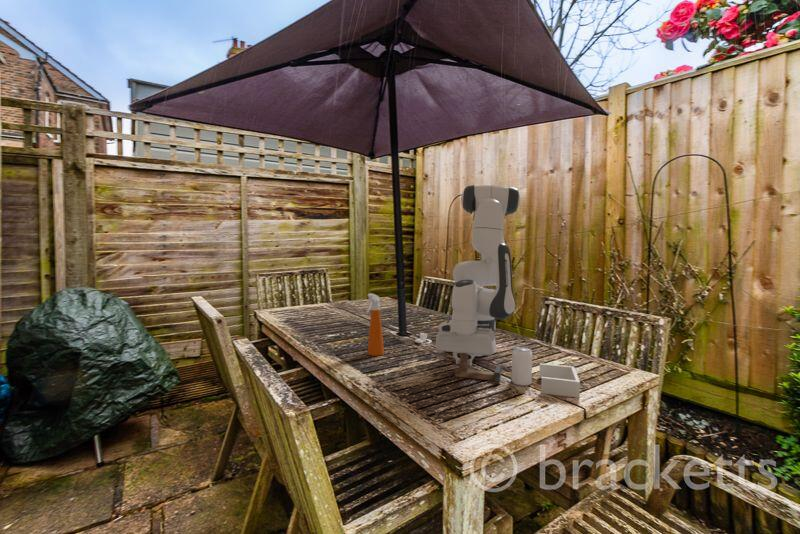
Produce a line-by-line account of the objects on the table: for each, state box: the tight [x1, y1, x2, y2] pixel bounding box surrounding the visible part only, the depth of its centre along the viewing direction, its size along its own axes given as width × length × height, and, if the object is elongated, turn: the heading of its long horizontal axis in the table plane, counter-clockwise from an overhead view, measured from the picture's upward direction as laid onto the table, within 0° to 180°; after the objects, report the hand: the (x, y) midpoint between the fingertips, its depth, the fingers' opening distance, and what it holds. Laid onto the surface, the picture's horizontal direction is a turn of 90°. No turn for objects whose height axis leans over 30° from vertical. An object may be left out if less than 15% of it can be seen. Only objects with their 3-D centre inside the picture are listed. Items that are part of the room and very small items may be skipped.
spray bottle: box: [365, 292, 385, 357], centre depth 154 cm, size 7×11×26 cm, turn 155°
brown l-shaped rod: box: [454, 353, 502, 385], centre depth 130 cm, size 16×8×9 cm, turn 72°
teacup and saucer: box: [414, 332, 432, 345], centre depth 174 cm, size 9×8×4 cm
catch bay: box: [538, 362, 581, 399], centre depth 122 cm, size 11×14×5 cm
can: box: [511, 345, 533, 387], centre depth 125 cm, size 6×6×12 cm
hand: (463, 364), depth 131 cm, fingers closed on brown l-shaped rod, 2 cm apart
